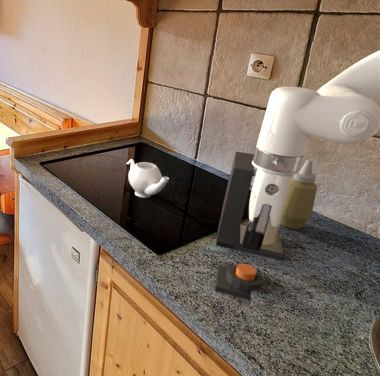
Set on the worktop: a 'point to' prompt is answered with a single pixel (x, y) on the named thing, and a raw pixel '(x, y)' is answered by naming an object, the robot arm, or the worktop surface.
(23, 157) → the worktop surface
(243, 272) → the button
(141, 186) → the teapot
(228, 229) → the coffee maker
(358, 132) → the robot arm
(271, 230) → the cup
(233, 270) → the dark grey button base
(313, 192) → the squeeze bottle
